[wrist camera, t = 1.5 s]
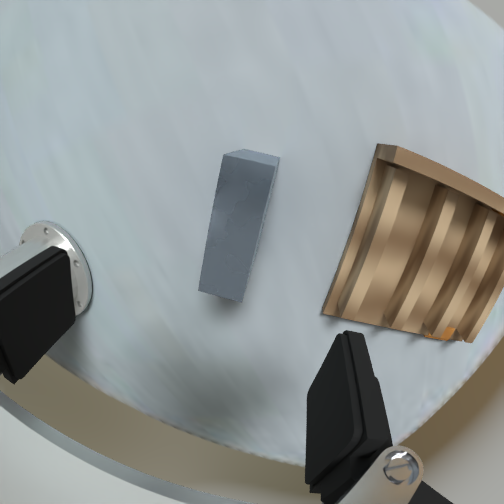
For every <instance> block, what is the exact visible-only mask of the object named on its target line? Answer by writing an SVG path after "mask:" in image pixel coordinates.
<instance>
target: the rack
mask: <svg viewBox="0 0 504 504" xmlns="http://www.w3.org/2000/svg"><path fill="white" fill-rule="evenodd" d="M503 287H504V198H503V197H502V196H500V195H498V194H497V193H495V192H493V191H491V190H490V189H488V188H486V187H484V186H482V185H481V184H479V183H477V182H475V181H473V180H471V179H469V178H467V177H465V176H463V175H461V174H459V173H457V172H455V171H453V170H451V169H449V168H447V167H445V166H443V165H441V164H439V163H437V162H434V161H432V160H430V159H428V158H425V157H423V156H421V155H419V154H416V153H414V152H411V151H409V150H407V149H404V148H402V147H399V146H394V145H386V144H377V147H376V151H375V154H374V158H373V161H372V165H371V169H370V172H369V175H368V179H367V182H366V186H365V189H364V192H363V195H362V199H361V202H360V205H359V208H358V211H357V214H356V217H355V220H354V223H353V226H352V229H351V232H350V235H349V238H348V241H347V244H346V247H345V250H344V252H343V255H342V258H341V261H340V263H339V266H338V269H337V272H336V274H335V277H334V279H333V282H332V285H331V287H330V290H329V292H328V295H327V298H326V300H325V303H324V305H323V307H322V309H323V314H327V315H332V316H336V317H340V318H344V319H349V320H354V321H359V322H363V323H368V324H373V325H378V326H382V327H387V328H392V329H397V330H402V331H407V332H412V333H418V334H423V335H424V337H429V338H434V339H440V340H446V341H448V339H451V340H457V341H462V340H464V341H465V342H468V343H472V342H473V341H474V339H475V338H476V336H477V334H478V333H479V331H480V329H481V328H482V326H483V324H484V323H485V321H486V319H487V317H488V316H489V314H490V312H491V310H492V308H493V306H494V304H495V303H496V301H497V299H498V297H499V295H500V293H501V291H502V289H503Z"/></svg>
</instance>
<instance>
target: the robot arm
mask: <svg viewBox="0 0 504 504" xmlns="http://www.w3.org/2000/svg"><path fill="white" fill-rule="evenodd" d="M91 294H92V281H91V276H90V271H89V268H88V265H87V262H86V260H85V258H84V256H83V254H82V252H81V250H80V248H79V247H78V245H77V244H76V242H75V241H74V240H73V239H72V237H71V236H70V235H69V234H68V233H67V232H66V231H65V230H63V229H62V228H61V227H59V226H58V225H56V224H54V223H51V222H47V221H40V222H36V223H34V224H32V225H30V226H29V227H28V228H26V229H25V231H24V232H23V234H22V236H21V239H20V244H19V246H18V247H16V248H15V249H13V250H11V251H9V252H8V253H6V254H4V255H3V256H1V257H0V375H1V374H2V373H3V375H4V377H5V378H6V379H7V380H9V381H10V382H11V383H13V384H15V383H16V382H17V381H18V380H19V379H22V378H23V377H24V376H25V375H26V374H27V373H28V372H29V370H30V369H31V368H32V367H33V366H34V365H35V364H36V363H37V362H38V361H39V360H40V359H41V357H42V356H43V355H44V354H45V353H46V352H47V351H48V350H49V349H50V348H51V347H52V346H53V345H54V344H55V343H56V341H57V340H58V339H59V338H60V337H61V336H62V335H63V334H64V333H65V332H66V331H67V330H68V329H69V328H70V327H71V326H72V325H73V324H74V322H75V318H76V316H77V315H79V314H80V313H81V312H82V311H84V310H85V309H86V307H87V306H88V304H89V302H90V299H91ZM423 474H424V467H423V464H422V461H421V460H420V458H419V456H418V455H417V454H416V453H414V451H412V450H410V449H409V448H407V447H403V446H393V444H392V439H391V434H390V429H389V424H388V419H387V415H386V410H385V406H384V402H383V397H382V393H381V389H380V385H379V381H378V379H377V378H376V377H375V376H374V372H373V368H372V364H371V360H370V356H369V353H368V349H367V345H366V342H365V338H364V335H363V334H362V333H357V332H353V331H348V330H346V331H344V332H343V334H340V333H339V334H338V335H337V336H336V338H335V340H334V342H333V344H332V346H331V348H330V350H329V352H328V354H327V356H326V358H325V360H324V362H323V364H322V366H321V368H320V370H319V372H318V373H317V375H316V377H315V379H314V381H313V383H312V385H311V386H310V388H309V391H308V394H307V431H306V465H305V483H306V484H310V493H321V501H322V502H323V503H322V504H453V503H452V502H450V501H449V500H448V499H446V498H445V497H443V496H442V495H440V494H439V493H438V492H436V491H435V490H434V489H433V488H431V487H430V486H429V485H427V484H426V483H425V482H423V481H422V477H423ZM0 504H256V503H250V502H245V501H240V500H235V499H230V498H226V497H221V496H217V495H213V494H209V493H205V492H201V491H197V490H194V489H190V488H187V487H184V486H180V485H177V484H174V483H171V482H168V481H165V480H162V479H159V478H156V477H154V476H151V475H148V474H145V473H143V472H140V471H138V470H136V469H133V468H131V467H128V466H126V465H124V464H121V463H119V462H117V461H114V460H112V459H110V458H108V457H106V456H104V455H102V454H100V453H98V452H96V451H93V450H92V449H90V448H88V447H86V446H84V445H82V444H80V443H78V442H77V441H74V440H73V439H71V438H69V437H67V436H66V435H64V434H62V433H61V432H59V431H57V430H56V429H54V428H52V427H51V426H49V425H48V424H46V423H45V422H43V421H42V420H40V419H38V418H37V417H35V416H34V415H33V414H31V413H29V412H28V411H27V410H25V409H24V408H23V407H21V406H20V405H18V404H17V403H16V402H14V401H13V400H12V399H10V398H9V397H7V396H6V395H5V394H4V393H3V392H1V391H0Z"/></svg>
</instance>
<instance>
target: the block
mask: <svg viewBox="0 0 504 504" xmlns="http://www.w3.org/2000/svg"><path fill="white" fill-rule="evenodd" d="M279 160H280V157H276V156H272V155H268V154H264V153H260V152H255V151H251V150H247V149H242V150H239V151H235V152H231V153H227V154H224V155H223V159H222V164H221V169H220V174H219V179H218V183H217V188H216V194H215V199H214V204H213V209H212V214H211V220H210V225H209V230H208V236H207V242H206V247H205V253H204V259H203V265H202V271H201V277H200V283H199V289H198V291H201V292H205V293H209V294H212V295H216V296H220V297H223V298H227V299H231V300H234V301H238V302H242V300H243V296H244V293H245V290H246V286H247V283H248V279H249V276H250V273H251V269H252V266H253V262H254V259H255V256H256V252H257V248H258V244H259V240H260V236H261V232H262V228H263V224H264V220H265V216H266V212H267V208H268V204H269V200H270V196H271V192H272V188H273V184H274V180H275V176H276V172H277V168H278V164H279Z"/></svg>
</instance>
